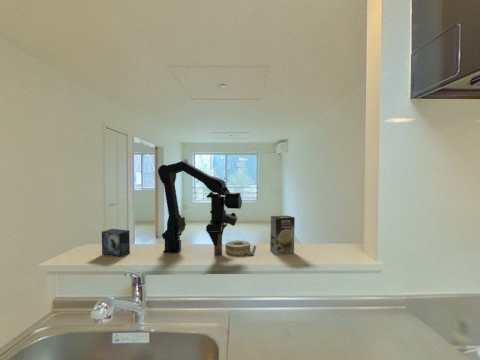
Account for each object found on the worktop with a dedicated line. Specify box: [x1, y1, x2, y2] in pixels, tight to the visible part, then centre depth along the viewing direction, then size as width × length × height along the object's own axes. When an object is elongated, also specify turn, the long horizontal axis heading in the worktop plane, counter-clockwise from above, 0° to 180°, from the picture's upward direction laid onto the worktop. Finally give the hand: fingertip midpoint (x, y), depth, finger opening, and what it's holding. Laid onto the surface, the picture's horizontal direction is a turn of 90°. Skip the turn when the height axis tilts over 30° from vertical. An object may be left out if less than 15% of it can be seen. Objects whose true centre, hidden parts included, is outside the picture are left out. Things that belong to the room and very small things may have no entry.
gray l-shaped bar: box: [243, 245, 256, 257], centre depth 129 cm, size 4×14×1 cm, turn 173°
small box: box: [101, 228, 131, 258], centre depth 124 cm, size 11×6×10 cm, turn 68°
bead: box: [225, 240, 251, 256], centre depth 129 cm, size 11×11×4 cm
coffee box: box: [269, 215, 296, 256], centre depth 127 cm, size 9×6×16 cm
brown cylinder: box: [213, 233, 223, 256], centre depth 124 cm, size 3×3×10 cm
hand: (217, 243), depth 124 cm, fingers open, 9 cm apart
